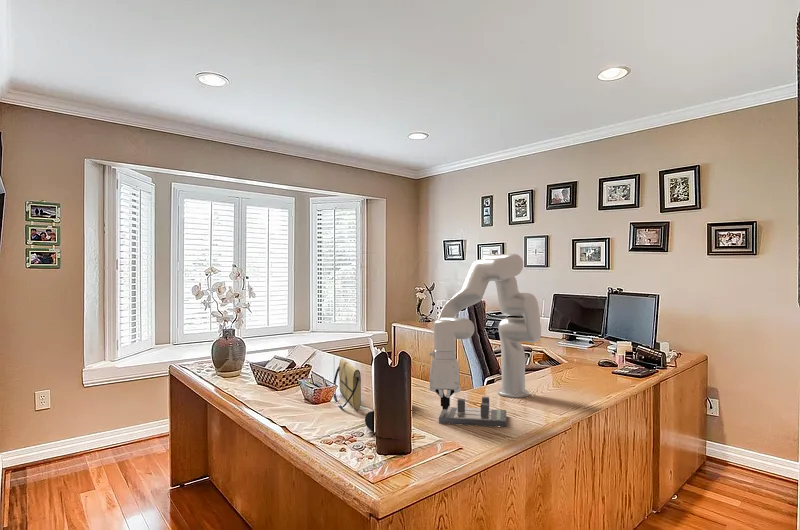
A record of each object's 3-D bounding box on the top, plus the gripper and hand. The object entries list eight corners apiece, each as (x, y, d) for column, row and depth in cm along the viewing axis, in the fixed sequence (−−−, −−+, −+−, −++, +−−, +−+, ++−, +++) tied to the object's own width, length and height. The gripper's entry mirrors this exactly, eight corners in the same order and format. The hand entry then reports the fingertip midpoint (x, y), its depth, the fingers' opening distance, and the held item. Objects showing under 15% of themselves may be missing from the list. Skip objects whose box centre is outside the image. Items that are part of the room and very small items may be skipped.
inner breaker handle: (482, 407, 164) (482, 396, 164) (489, 408, 164) (489, 396, 164) (482, 409, 162) (481, 398, 162) (489, 410, 161) (488, 398, 162)
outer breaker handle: (481, 415, 155) (481, 403, 155) (488, 415, 155) (488, 403, 155) (480, 417, 153) (480, 404, 153) (488, 417, 153) (488, 405, 153)
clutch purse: (329, 394, 196) (328, 358, 197) (345, 393, 198) (345, 357, 199) (343, 413, 168) (343, 371, 169) (362, 411, 170) (362, 370, 171)
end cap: (382, 423, 156) (382, 402, 157) (400, 426, 153) (400, 405, 153) (364, 431, 148) (364, 410, 148) (383, 435, 144) (382, 413, 144)
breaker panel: (443, 412, 168) (443, 406, 168) (506, 415, 163) (506, 409, 163) (438, 423, 155) (438, 416, 155) (506, 427, 150) (506, 420, 151)
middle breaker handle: (458, 410, 161) (458, 398, 162) (465, 410, 161) (465, 398, 161) (457, 411, 159) (457, 400, 159) (464, 412, 159) (464, 400, 159)
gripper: (421, 356, 160) (422, 410, 159) (465, 357, 157) (466, 412, 156) (425, 353, 167) (425, 404, 167) (467, 354, 164) (467, 406, 163)
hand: (445, 408), depth 161 cm, fingers closed
